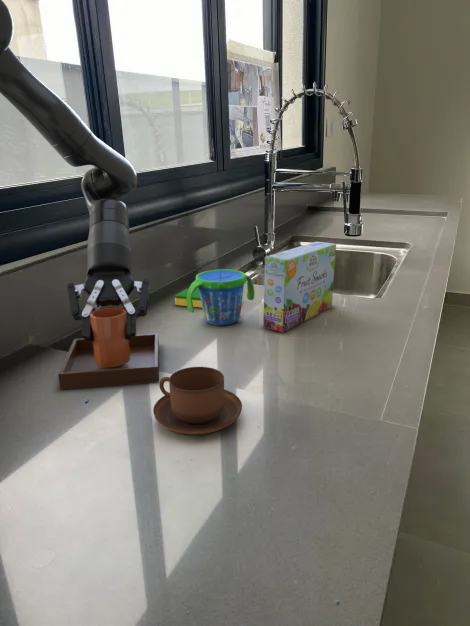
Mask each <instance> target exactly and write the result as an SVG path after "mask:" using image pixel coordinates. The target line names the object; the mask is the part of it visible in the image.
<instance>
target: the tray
mask: <svg viewBox="0 0 470 626" xmlns="http://www.w3.org/2000/svg"><path fill="white" fill-rule="evenodd" d="M129 344H130V358H131V359H130V361H129V362H127V363H126V364H124V365H121V366H117V367H101V366H98V365H97V364H96V363H95V357H94V349H93V341H92V343H88V342H87V340H85V339H84V337H83V338H74V339H73V341H72V343H71V345H70V347H69V348H68V352H67V354H66V356H65V358H64V361H63V363H62V365H61V367H60V369H59V371H58V374H57V376H58V384H59V390H60V391H62V390H63V391H64V390H77V389H87V388H88V389H89V388H101V387H103V388H104V387H115V386H127V385H141V384H150V383H152V384H153V383H159V382H160V339H159V333H157V332H156V333H143V334H142V333H141V334H136V336H133V337H132V340H129Z"/></svg>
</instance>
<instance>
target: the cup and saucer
mask: <svg viewBox="0 0 470 626" xmlns="http://www.w3.org/2000/svg"><path fill="white" fill-rule="evenodd" d="M166 382H168V386H169V391H167V390H166V389H165V385H164V384H165V383H166ZM158 386H159V390H160V392H161V393H162V395H163V396H161V397H160V398H159V399H158V400H157V401H156V402H155V403H154V406H153V410H152V411H153V416H154V419H155V420H156V421H157V423H158V424H159V425H160V426H162V427H164V429H167V430H169V431H170V432H174V433H178V434H183V435H206V434H211V433H215V432H219V431H221V430H223V429H225V428H227V427H229V426H230V425H232V424H233V423H234V422H236V420H237V419H238V418H239V417H240V416H241V413H242V411H243V410H242V409H243V402H242V401H241V399H240V397H238V396H237V395H236V393H233V392H232V391H229V390H227V389H225V375H224V373H222V371H220V370H219V369H217V368H214V367H209V366H190V367H186V368H181V369H179V370H177V371H175V372H173V373H172V374H171V375H170V376H163V377H162V378H161V379H159V382H158Z"/></svg>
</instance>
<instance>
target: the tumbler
mask: <svg viewBox="0 0 470 626" xmlns="http://www.w3.org/2000/svg"><path fill="white" fill-rule="evenodd" d="M90 324H91V332H92V341H93V349H94V357H95V363H96V364H97V365H98V366H101V367H117V366H121V365H124V364H126V363H127V362H129V361H130V359H131V358H130V344H129V340H128V338H127V313H126V310H125V309H123V307H119V306H117V307H116V306H110V307H109V306H106V307H100V308H99V309H97V310H94V311H92V312H91V313H90Z"/></svg>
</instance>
